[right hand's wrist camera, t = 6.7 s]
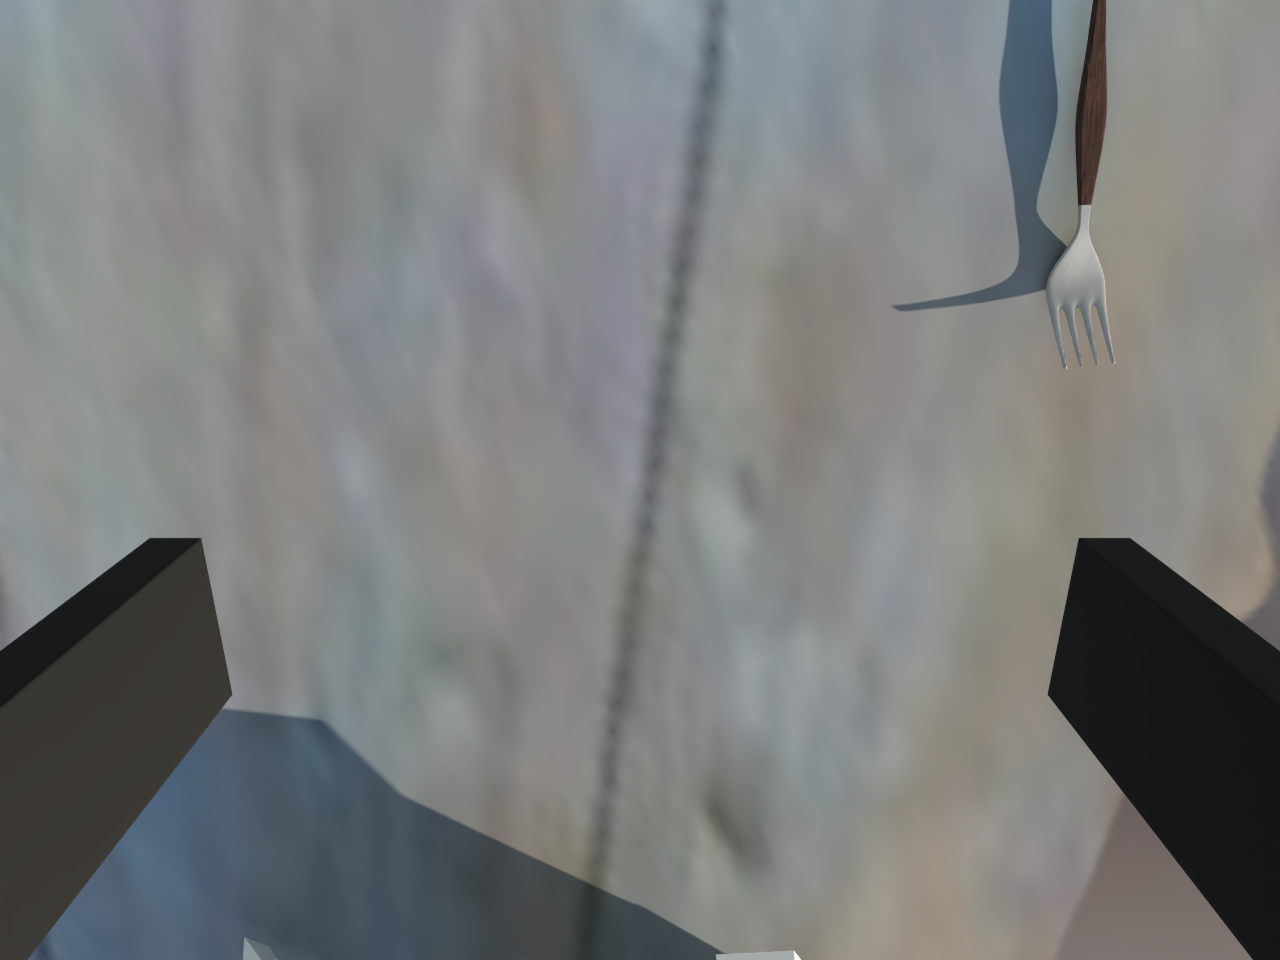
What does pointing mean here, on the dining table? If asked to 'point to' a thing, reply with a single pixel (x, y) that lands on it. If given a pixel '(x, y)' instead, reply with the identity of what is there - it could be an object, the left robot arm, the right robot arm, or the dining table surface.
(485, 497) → the dining table surface
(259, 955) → the white plastic object
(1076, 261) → the fork
